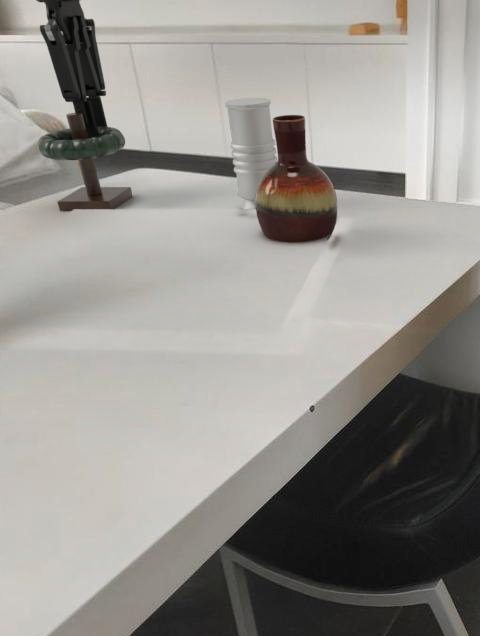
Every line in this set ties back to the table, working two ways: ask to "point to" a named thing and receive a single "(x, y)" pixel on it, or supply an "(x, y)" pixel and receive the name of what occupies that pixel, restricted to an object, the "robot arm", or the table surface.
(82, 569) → the table surface
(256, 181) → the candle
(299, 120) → the vase
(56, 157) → the ring
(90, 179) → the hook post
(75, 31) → the robot arm
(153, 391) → the table surface
